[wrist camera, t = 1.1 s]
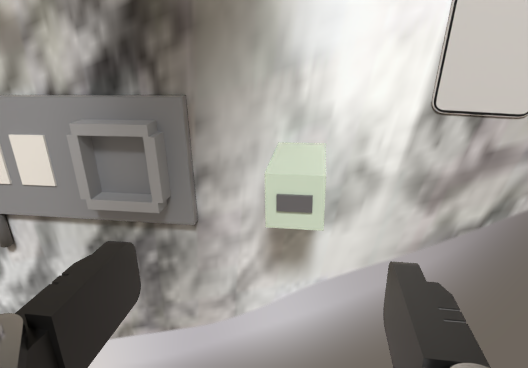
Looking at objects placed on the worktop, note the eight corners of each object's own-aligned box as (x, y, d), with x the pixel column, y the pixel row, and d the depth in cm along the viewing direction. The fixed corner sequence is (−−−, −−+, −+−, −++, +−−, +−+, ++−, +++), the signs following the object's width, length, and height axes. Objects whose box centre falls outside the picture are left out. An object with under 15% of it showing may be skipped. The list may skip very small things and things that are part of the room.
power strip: (-54, 94, 34) (-84, 99, 32) (185, 95, 31) (173, 100, 28) (-5, 240, 40) (-27, 254, 38) (201, 255, 37) (191, 271, 34)
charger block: (278, 142, 31) (264, 174, 23) (325, 143, 30) (326, 176, 23) (278, 185, 32) (265, 228, 25) (323, 187, 32) (323, 232, 24)
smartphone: (429, 112, 28) (479, -129, 22) (427, 111, 29) (475, -124, 23) (532, 118, 27) (612, -132, 21) (527, 116, 28) (604, -127, 22)
